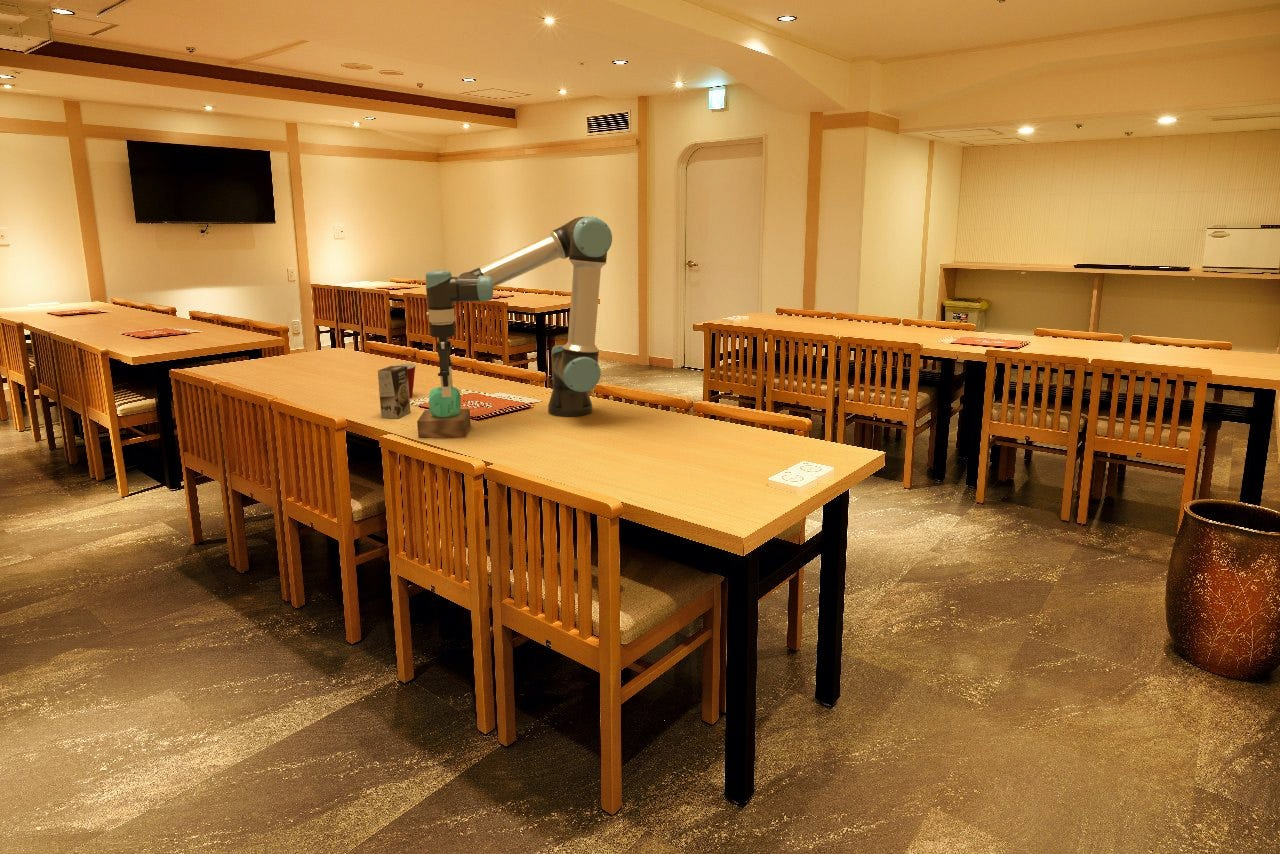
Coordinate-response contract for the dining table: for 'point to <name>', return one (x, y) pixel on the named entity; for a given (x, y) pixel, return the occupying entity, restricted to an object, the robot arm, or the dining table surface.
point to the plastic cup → (409, 375)
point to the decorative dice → (444, 403)
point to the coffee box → (394, 391)
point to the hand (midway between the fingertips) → (447, 392)
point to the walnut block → (444, 425)
